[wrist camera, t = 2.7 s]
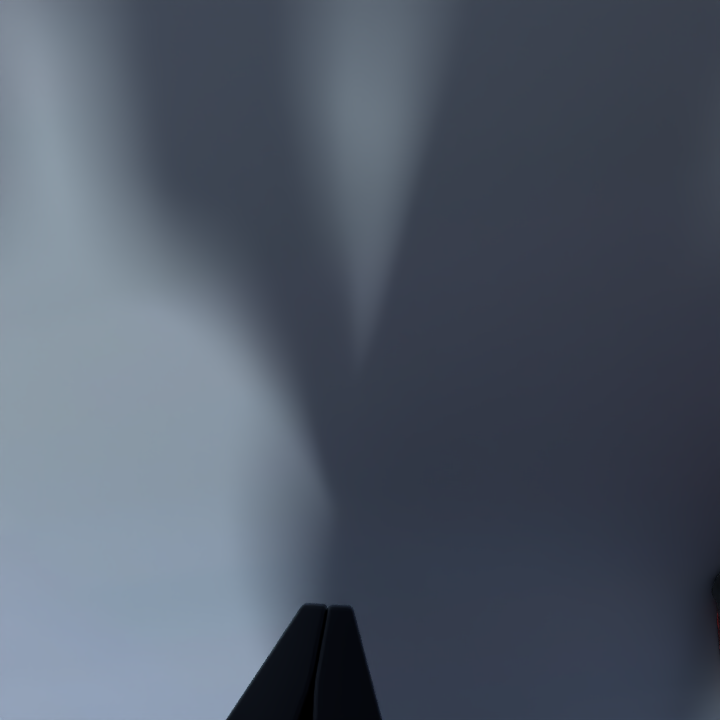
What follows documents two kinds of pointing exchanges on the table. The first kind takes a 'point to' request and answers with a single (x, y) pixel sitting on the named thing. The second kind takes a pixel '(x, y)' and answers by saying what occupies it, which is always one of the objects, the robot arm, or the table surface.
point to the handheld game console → (719, 594)
